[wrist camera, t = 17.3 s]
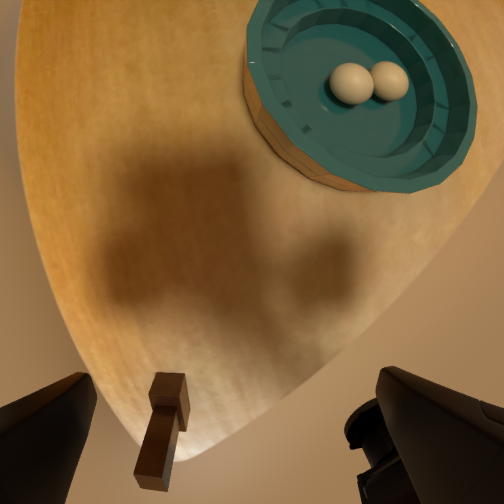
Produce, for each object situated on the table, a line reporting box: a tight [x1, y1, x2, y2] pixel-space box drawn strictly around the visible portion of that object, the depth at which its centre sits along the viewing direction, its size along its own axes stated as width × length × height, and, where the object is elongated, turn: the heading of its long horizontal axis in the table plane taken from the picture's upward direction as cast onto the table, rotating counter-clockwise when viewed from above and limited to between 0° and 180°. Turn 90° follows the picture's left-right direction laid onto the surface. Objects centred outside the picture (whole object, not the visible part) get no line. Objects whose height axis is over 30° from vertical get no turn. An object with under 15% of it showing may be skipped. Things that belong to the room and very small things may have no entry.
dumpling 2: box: [369, 61, 409, 101], centre depth 16 cm, size 3×3×3 cm
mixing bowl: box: [244, 0, 477, 194], centre depth 15 cm, size 16×16×6 cm
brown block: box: [134, 373, 190, 492], centre depth 17 cm, size 4×2×10 cm, turn 0°
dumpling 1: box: [330, 63, 374, 105], centre depth 16 cm, size 3×3×3 cm
